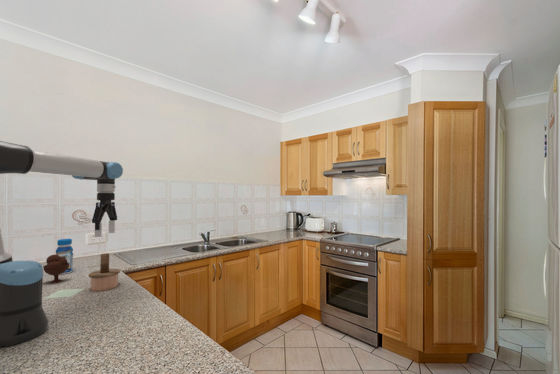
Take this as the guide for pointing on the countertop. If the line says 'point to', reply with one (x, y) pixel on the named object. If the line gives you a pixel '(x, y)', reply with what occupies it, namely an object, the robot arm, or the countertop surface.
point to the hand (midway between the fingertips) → (105, 234)
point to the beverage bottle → (65, 252)
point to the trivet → (64, 293)
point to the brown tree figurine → (56, 266)
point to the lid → (104, 268)
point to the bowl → (104, 283)
